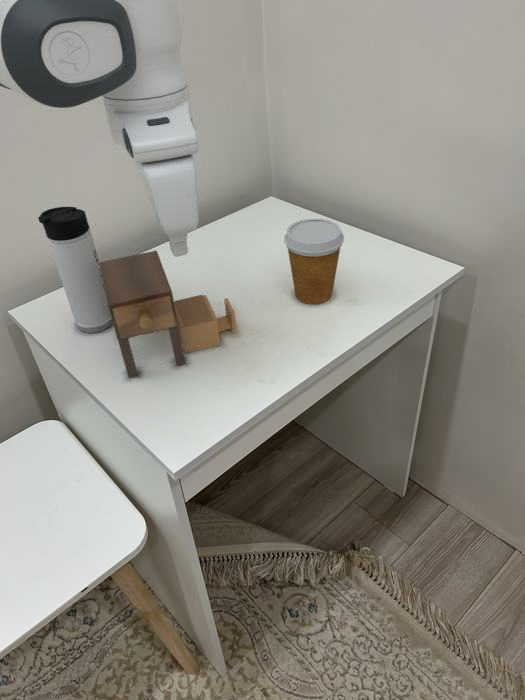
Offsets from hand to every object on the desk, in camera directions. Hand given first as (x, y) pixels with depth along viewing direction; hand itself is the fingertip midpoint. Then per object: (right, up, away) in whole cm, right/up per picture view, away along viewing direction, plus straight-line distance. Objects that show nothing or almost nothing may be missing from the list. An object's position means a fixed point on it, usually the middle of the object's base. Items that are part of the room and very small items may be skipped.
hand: (171, 235), depth 67 cm
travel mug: (-17, -10, +24) cm, 31 cm away
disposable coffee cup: (+20, -5, +27) cm, 34 cm away
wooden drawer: (+2, -11, +20) cm, 23 cm away
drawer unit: (-6, -14, +18) cm, 23 cm away
